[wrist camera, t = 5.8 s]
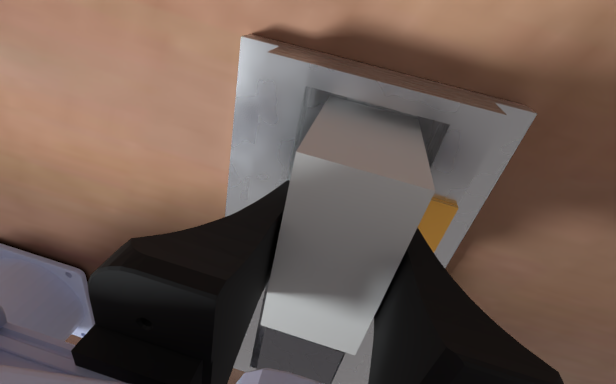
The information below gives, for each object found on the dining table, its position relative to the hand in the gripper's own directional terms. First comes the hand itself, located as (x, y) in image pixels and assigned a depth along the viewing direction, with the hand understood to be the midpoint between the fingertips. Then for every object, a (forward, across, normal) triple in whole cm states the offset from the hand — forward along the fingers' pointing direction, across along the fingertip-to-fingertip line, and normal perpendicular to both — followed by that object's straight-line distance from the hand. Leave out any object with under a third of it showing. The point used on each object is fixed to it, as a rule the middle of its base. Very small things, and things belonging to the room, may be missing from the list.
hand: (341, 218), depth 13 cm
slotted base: (+3, 0, +4) cm, 6 cm away
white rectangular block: (+2, 0, 0) cm, 2 cm away
